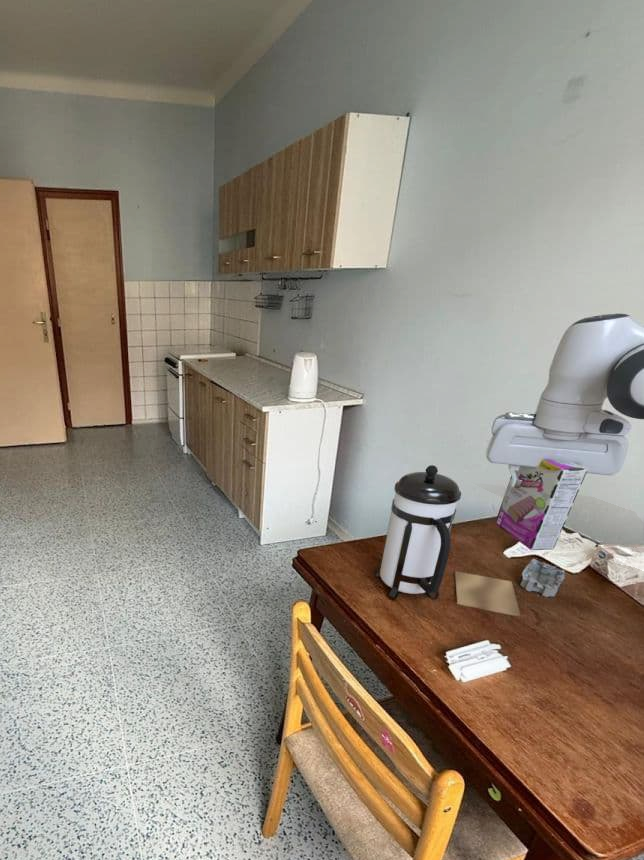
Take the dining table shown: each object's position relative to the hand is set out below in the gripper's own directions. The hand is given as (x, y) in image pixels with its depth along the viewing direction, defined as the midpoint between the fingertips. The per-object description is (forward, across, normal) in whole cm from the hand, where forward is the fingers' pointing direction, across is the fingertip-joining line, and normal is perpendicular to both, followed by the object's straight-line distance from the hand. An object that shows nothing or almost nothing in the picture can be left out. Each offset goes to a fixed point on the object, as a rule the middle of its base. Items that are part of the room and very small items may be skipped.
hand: (538, 489), depth 89 cm
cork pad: (+28, -1, +7) cm, 29 cm away
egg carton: (+29, +11, +16) cm, 34 cm away
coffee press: (+29, -17, +2) cm, 34 cm away
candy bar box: (+10, 0, 0) cm, 10 cm away
